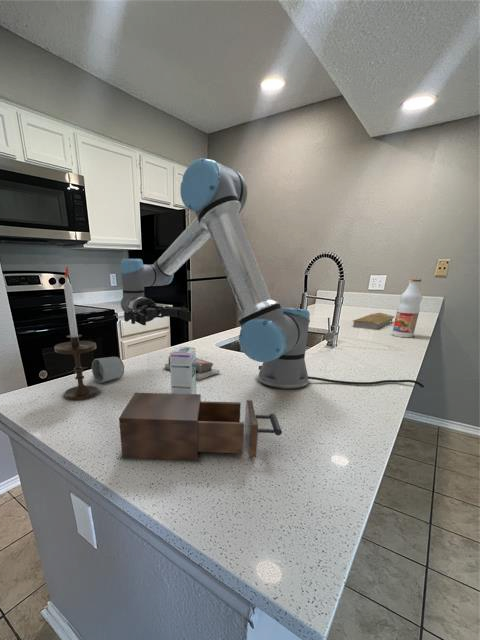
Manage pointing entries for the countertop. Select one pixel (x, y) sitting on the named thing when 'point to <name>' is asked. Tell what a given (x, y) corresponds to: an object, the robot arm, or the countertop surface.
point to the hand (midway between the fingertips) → (167, 318)
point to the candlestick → (75, 349)
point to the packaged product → (200, 368)
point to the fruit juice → (408, 310)
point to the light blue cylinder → (107, 369)
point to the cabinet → (160, 426)
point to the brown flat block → (373, 321)
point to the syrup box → (183, 370)
